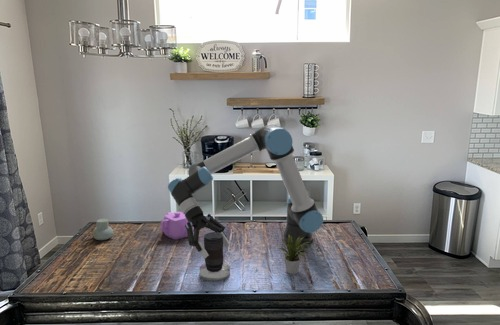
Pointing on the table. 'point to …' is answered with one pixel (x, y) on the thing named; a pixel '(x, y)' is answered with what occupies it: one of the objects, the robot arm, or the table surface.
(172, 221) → the teakettle
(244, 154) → the robot arm
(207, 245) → the camera lens
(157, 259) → the table surface
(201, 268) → the cap plate
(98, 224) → the air freshener
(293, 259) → the house plant
